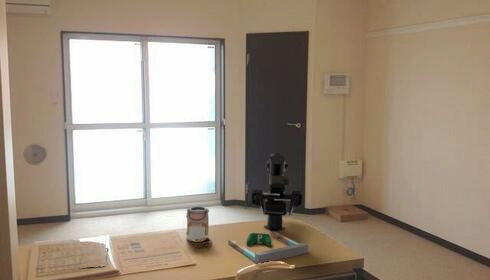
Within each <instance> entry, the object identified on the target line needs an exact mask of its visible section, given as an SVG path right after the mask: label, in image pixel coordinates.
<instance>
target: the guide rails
mask: <svg viewBox="0 0 490 280" xmlns="http://www.w3.org/2000/svg"><path fill="white" fill-rule="evenodd" d="M271 237H274V238H276V239H277V240H279V241H281V242H283V243H284V244H286V245H288V241H289V240H292V239H290V237H287V236H285V235H283V234H281V233H279V232H277V231H271ZM227 241H228V242H227V243H228V245H230V246H231V247H233V248H234V249H236V250H237V251H238V252H239V253H241V254H243V249H247V248H246V247H245V246H243V245H242V244H241V243H239V242H237V241H236V240H234V239H228V240H227Z"/></svg>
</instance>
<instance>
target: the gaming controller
mask: <svg viewBox="0 0 490 280" xmlns="http://www.w3.org/2000/svg"><path fill="white" fill-rule="evenodd" d="M269 233H270V232H268V231H266V232H265V233H262V232H258V233H255V232H254V231H250V233H249V234H248V237H247V239H246V246H247V247H251V246H252V244H253V243H254V244H265V245H266V247H268V248H271V247H272V242H273V241H272V236H271V235H270V234H269Z"/></svg>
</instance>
